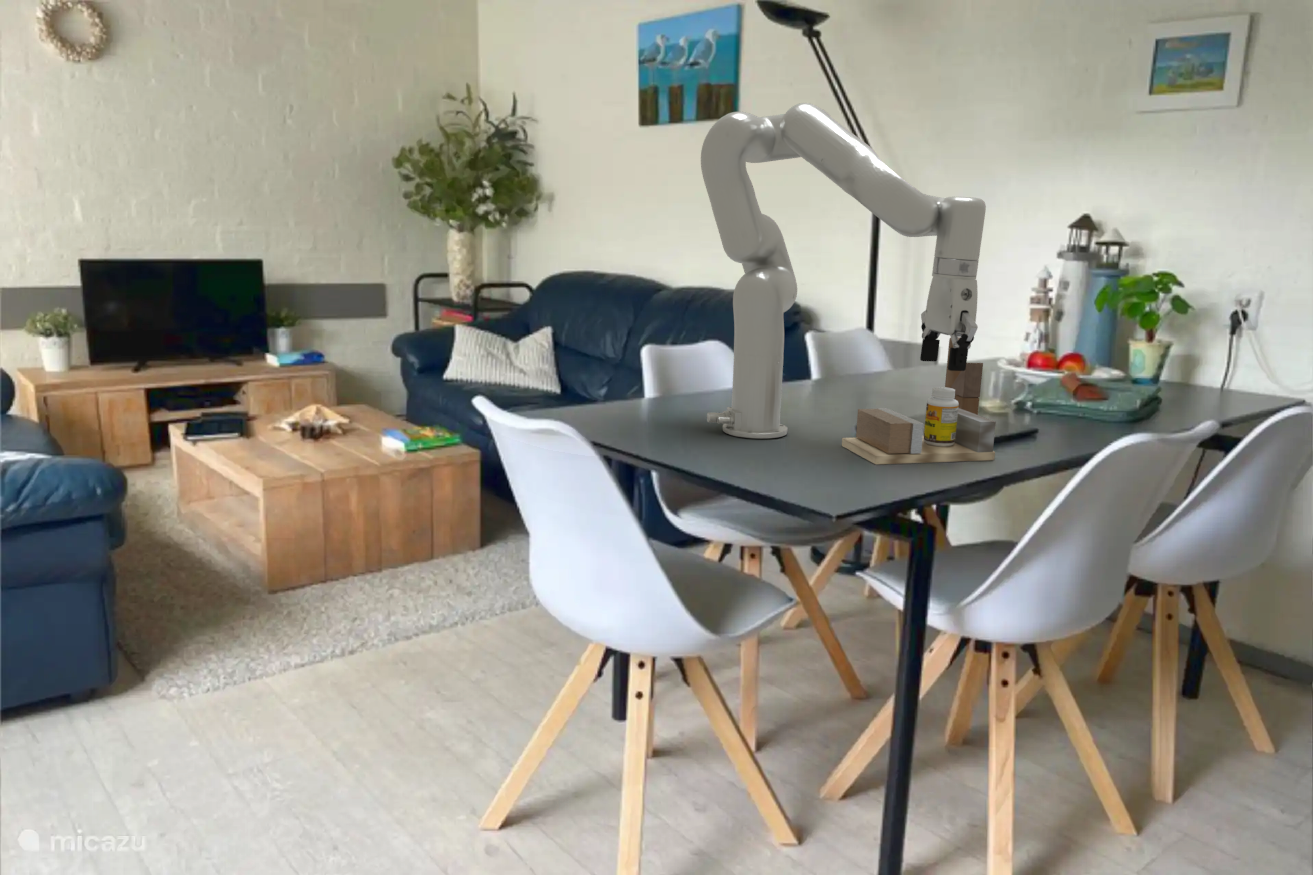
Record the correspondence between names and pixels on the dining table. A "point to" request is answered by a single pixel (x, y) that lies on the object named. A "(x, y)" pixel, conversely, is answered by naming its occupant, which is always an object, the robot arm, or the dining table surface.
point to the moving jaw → (889, 431)
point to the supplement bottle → (941, 417)
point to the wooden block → (965, 384)
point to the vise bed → (969, 446)
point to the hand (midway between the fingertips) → (942, 365)
